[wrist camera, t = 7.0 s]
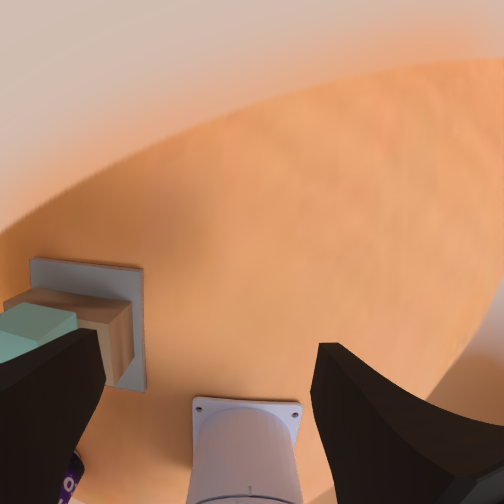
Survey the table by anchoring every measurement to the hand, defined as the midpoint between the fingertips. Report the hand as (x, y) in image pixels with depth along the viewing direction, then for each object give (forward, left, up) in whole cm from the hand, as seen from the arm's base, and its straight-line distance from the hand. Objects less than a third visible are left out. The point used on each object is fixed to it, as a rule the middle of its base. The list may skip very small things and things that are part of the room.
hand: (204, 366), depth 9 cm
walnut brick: (-4, +10, -10) cm, 14 cm away
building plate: (-4, +10, -11) cm, 15 cm away
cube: (-3, +10, -6) cm, 12 cm away
